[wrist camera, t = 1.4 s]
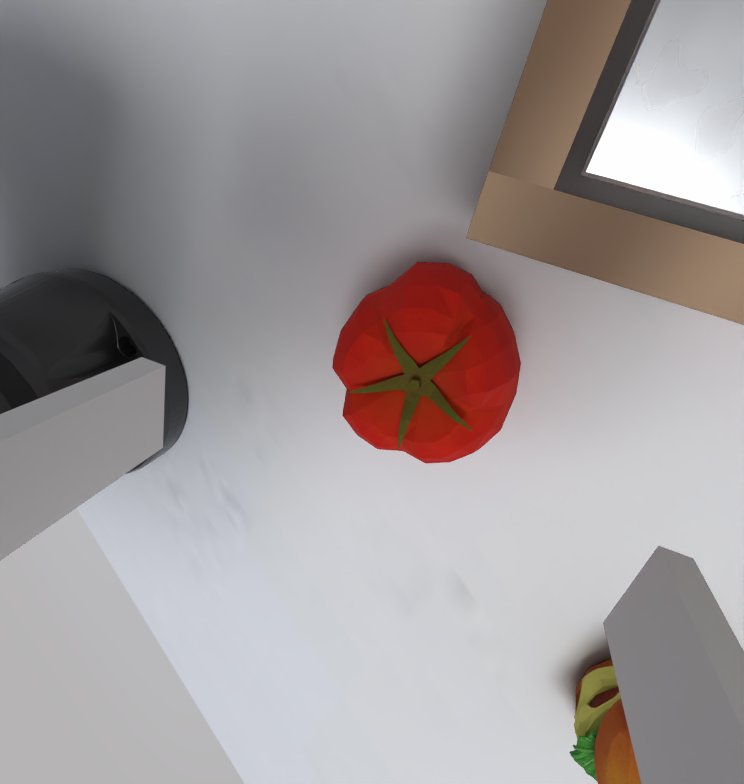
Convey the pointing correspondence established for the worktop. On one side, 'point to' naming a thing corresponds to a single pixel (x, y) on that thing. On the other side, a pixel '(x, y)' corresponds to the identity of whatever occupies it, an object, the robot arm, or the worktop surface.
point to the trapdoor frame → (579, 215)
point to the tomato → (428, 365)
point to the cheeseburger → (603, 729)
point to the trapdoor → (680, 109)
